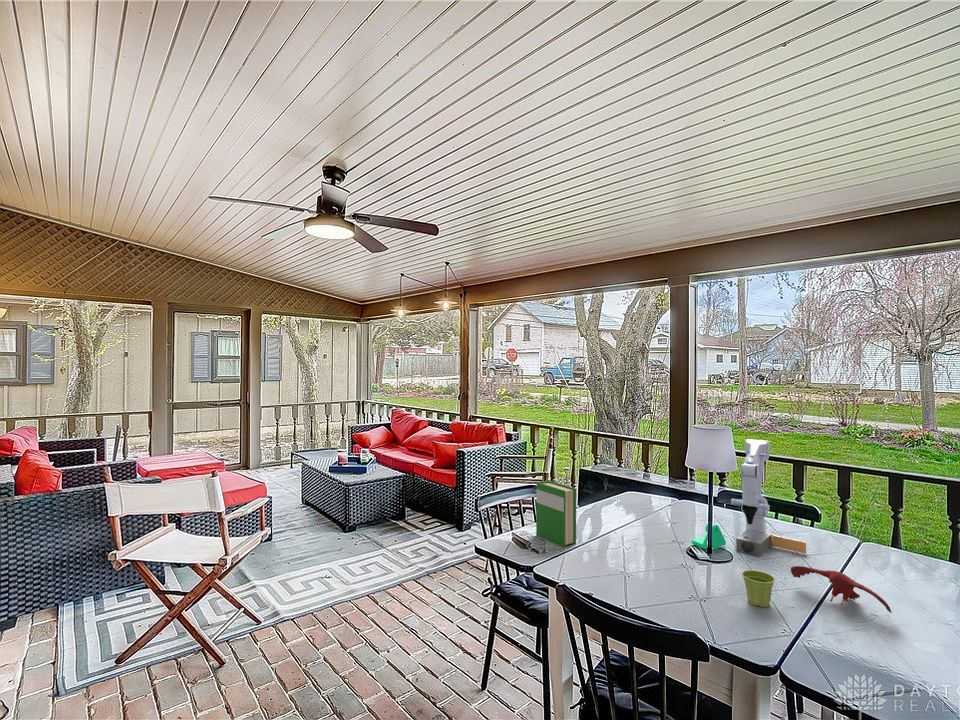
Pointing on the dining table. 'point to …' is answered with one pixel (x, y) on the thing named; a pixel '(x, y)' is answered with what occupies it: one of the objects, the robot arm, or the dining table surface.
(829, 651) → the dining table surface
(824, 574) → the red toy dinosaur
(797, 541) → the tan piece
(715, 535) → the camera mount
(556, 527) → the hardback book
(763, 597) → the plant pot
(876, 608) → the dining table surface
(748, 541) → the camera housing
